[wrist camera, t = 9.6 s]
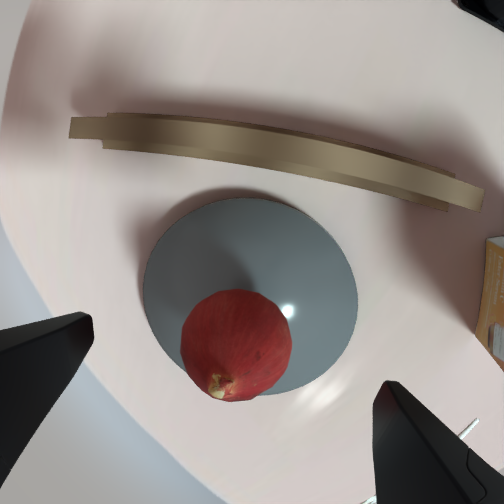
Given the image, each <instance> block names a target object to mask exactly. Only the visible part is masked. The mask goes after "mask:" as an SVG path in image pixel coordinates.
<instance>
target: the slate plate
mask: <svg viewBox="0 0 504 504" xmlns="http://www.w3.org/2000/svg"><path fill="white" fill-rule="evenodd" d="M231 289H244V290H248V291H253V292H258V293H260V294H261V295H263V296H265V297H266V298H268V299H269V300H271V301H272V302H274V303H275V304H276V305H277V306H278V308H279V309H280V310H281V312H282V313H283V314H284V316H285V317H286V319H287V322H288V326H289V330H290V334H291V339H292V351H291V355H290V359H289V363H288V367H287V369H286V371H285V373H284V374H283V375H282V376H281V378H280V379H279V380H278V381H277V382H276V383H275V384H274V386H273V387H272V388H270V389H268V390H266V391H264V392H263V393H261V394H259V395H258V396H261V395H273V394H279V393H283V392H287V391H291V390H294V389H296V388H299V387H301V386H304V385H306V384H308V383H309V382H311V381H313V380H315V379H316V378H318V377H319V376H321V375H322V374H323V373H325V372H326V371H327V370H328V369H329V368H330V367H331V366H332V365H333V364H334V363H335V362H336V361H337V360H338V358H339V357H340V356H341V355H342V353H343V351H344V350H345V348H346V347H347V345H348V343H349V341H350V338H351V336H352V334H353V331H354V327H355V324H356V319H357V311H358V295H357V289H356V283H355V279H354V276H353V273H352V270H351V267H350V265H349V263H348V261H347V259H346V257H345V255H344V253H343V252H342V250H341V248H340V247H339V245H338V244H337V243H336V241H335V240H334V238H333V237H332V236H331V235H330V234H329V233H328V232H327V231H326V230H325V229H324V228H323V227H322V226H321V225H320V224H318V223H317V222H316V221H315V220H313V219H312V218H311V217H309V216H308V215H306V214H304V213H302V212H301V211H299V210H297V209H295V208H293V207H290V206H288V205H285V204H283V203H279V202H275V201H272V200H268V199H260V198H252V197H251V198H232V199H225V200H220V201H217V202H214V203H210V204H207V205H205V206H203V207H201V208H199V209H197V210H194V211H193V212H191V213H189V214H187V215H186V216H184V217H183V218H181V219H180V220H178V221H177V222H176V223H175V224H174V225H173V226H171V227H170V228H169V229H168V230H167V231H166V232H165V234H164V235H163V236H162V237H161V239H160V240H159V241H158V243H157V245H156V246H155V248H154V250H153V251H152V253H151V256H150V258H149V261H148V263H147V267H146V271H145V275H144V283H143V300H144V306H145V312H146V316H147V319H148V322H149V325H150V327H151V329H152V332H153V334H154V336H155V337H156V339H157V341H158V342H159V344H160V346H161V347H162V348H163V350H164V351H165V352H166V354H167V355H168V356H169V357H170V358H171V359H172V360H173V361H174V362H175V363H176V364H177V365H178V366H179V367H180V368H182V369H183V370H184V371H185V372H186V369H185V366H184V363H183V360H182V357H181V354H180V345H181V333H182V326H183V324H184V322H185V320H186V318H187V317H188V315H189V314H190V312H191V311H192V310H193V308H194V307H195V305H196V304H198V303H199V302H200V301H202V300H203V299H205V298H207V297H209V296H210V295H212V294H214V293H216V292H218V291H223V290H231Z"/></svg>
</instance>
